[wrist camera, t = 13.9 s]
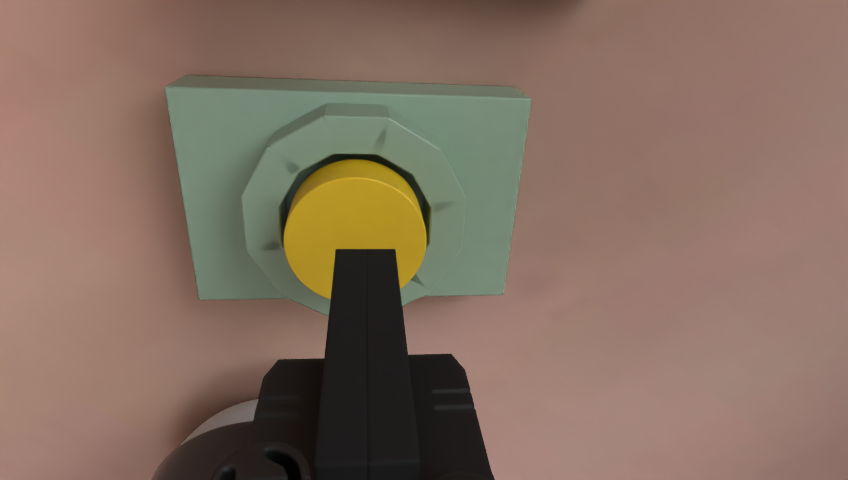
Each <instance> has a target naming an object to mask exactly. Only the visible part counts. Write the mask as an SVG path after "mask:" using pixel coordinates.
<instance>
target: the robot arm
mask: <svg viewBox="0 0 848 480" xmlns="http://www.w3.org/2000/svg"><path fill="white" fill-rule="evenodd" d="M210 480H495V479H494V477H493V474H492V472H491V469H490V465H489V461H488V457H487V453H486V449H485V445H484V442H483V438H482V434H481V430H480V426H479V422H478V418H477V414H476V411H475V410H474V403H473V399H472V395H471V393H470V387H469V383H468V380H467V376H466V372H465V370H464V368H463V367H462V366H461V365H460V364H459V363H458V361H457V360H456V359H455V358H454V357H453V356H452V354H425V355H408V352H407V343H406V335H405V326H404V318H403V309H402V301H401V292H400V284H399V275H398V267H397V258H396V250H395V249H336V251H335V261H334V271H333V280H332V290H331V300H330V310H329V320H328V330H327V339H326V349H325V358H324V359H283V360H278V361H277V362H276V363H275V364H274V366H273V367H272V368H271V369H270V370H269V371H268V373H267V374H266V375H265V376H264V378H263V382H262V386H261V390H260V394H259V398H258V402H257V406H256V410H255V414H254V419H253V422H252V426H251V430H250V434H249V438H248V442H247V446H245V447H243V448H241V449H239V450H237V451H235V452H233V453H231V454H230V455H229V456H228V457H227V458H226V459H225V460H224V461H222V462H221V463H220V464H219V465H218V466H217V467H216V469H215V471H214V472H213V474H212V476H211V478H210Z"/></svg>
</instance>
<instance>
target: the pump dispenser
mask: <svg viewBox="0 0 848 480" xmlns="http://www.w3.org/2000/svg"><path fill="white" fill-rule="evenodd" d="M257 402H258V399H255V400H250V401H246V402H242V403H239V404H237V405H234V406H231V407H229V408H227V409H225V410H223V411H221V412H219V413H217V414H216V415H214V416H212V417H211V418H209V419H208V420H207V421H205V422H204V423H202V424H201V425H200V426H199V427H198V428H197V429H195V430H194V431H193V432H192V433H191V434H190V435H189V436H188V437H187V438H186V439H185V441H184V442H183V443H182V444H181V445H180V446H179V447H178V448H176V449H175V450H174V451H173V452H172V453H171V454H169V455H168V456H167V457H166V458H165V460H164V461H163V462H162V463H161V464H160V466H159V467H158V468H157V470H156V472H155V473H154V475H153V477H152V479H151V480H210V478H211V476H212V474H213V472H214V471H215V469H216V467H217V466H218V465H219V464H220V463H221V462H222V461H224V460H225V459H226V458H227V457H228V456H229V455H230V454H231V453H233V452H235V451H237V450H239V449H241V448H243V447H245V446H247V442H248V438H249V434H250V430H251V426H252V422H253V419H254V414H255V410H256V406H257Z"/></svg>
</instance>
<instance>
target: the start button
mask: <svg viewBox="0 0 848 480" xmlns="http://www.w3.org/2000/svg"><path fill="white" fill-rule="evenodd" d="M426 244H427V235H426V229H425V224H424V221H423V217H422V213H421V210H420V206H419V203H418V200H417V197H416V195H415V193H414V191H413V190H412V188H411V187H410V185H409V184H408V183H407V182H406V181H405V179H404V178H402V177H401V176H400V175H399V174H398V173H396V172H395V171H393V170H392V169H390V168H388V167H386V166H384V165H382V164H379V163H376V162H373V161H368V160H361V159H348V160H341V161H337V162H334V163H330V164H328V165H326V166H323V167H321V168H320V169H318V170H316V171H315V172H313V173H312V174H311V175H310V176H309V177H307V179H306V180H305V181H304V182H303V183H302V184H301V186H300V187H299V188H298V190H297V192H296V194H295V196H294V198H293V201H292V204H291V207H290V211H289V214H288V218H287V221H286V225H285V229H284V251H285V255H286V258H287V261H288V263H289V265H290V267H291V269H292V271H293V272H294V274H295V275H296V276H297V278H298V279H299V280H300V281H301V282H302V283H303V284H304V285H305V286H306V287H307V288H309V289H310V290H312V291H313V292H315V293H317V294H318V295H320V296H322V297H325V298H327V299H330V300H331V290H332V280H333V271H334V261H335V251H336V249H395V250H396V258H397V267H398V275H399V284H400V289H401V288H403V287H404V286H405V285H406V284H407V283H408V282H409V281H410V280H411V279H412V278H413V276H414V275H415V274H416V272H417V271H418V269H419V268H420V266H421V263H422V261H423V259H424V255H425V252H426Z"/></svg>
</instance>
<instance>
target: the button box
mask: <svg viewBox="0 0 848 480" xmlns="http://www.w3.org/2000/svg"><path fill="white" fill-rule="evenodd" d="M165 93H166V100H167V106H168V112H169V118H170V124H171V130H172V137H173V143H174V149H175V155H176V161H177V167H178V173H179V180H180V186H181V192H182V198H183V204H184V210H185V216H186V223H187V229H188V235H189V241H190V247H191V253H192V259H193V266H194V272H195V278H196V284H197V290H198V296H199V300H235V299H291V300H293V301H295V302H297V303H300V304H302V305H304V306H306V307H309V308H311V309H313V310H315V311H318V312H320V313H322V314H324V315H327V316H329V310H330V299H327V298H325V297H322V296H320V295H318V294H317V293H315V292H313V291H312V290H310V289H309V288H307V287H306V286H305V285H304V284H303V283H302V282H301V281H300V280H299V279H298V278H297V276H296V275H295V274H294V272H293V271H292V269H291V267H290V265H289V263H288V261H287V258H286V255H285V251H284V229H285V225H286V221H287V218H288V214H289V211H290V207H291V204H292V201H293V198H294V196H295V194H296V192H297V190H298V188H299V187H300V186H301V184H302V183H303V182H304V181H305V180H306V179H307V177H309V176H310V175H311V174H312V173H313V172H315V171H316V170H318V169H320V168H321V167H323V166H326V165H328V164H330V163H334V162H337V161H341V160H348V159H361V160H368V161H373V162H376V163H379V164H382V165H384V166H386V167H388V168H390V169H392V170H393V171H395V172H396V173H398V174H399V175H400V176H401V177H402V178H404V179H405V181H406V182H407V183H408V184H409V185H410V187H411V188H412V190H413V191H414V193H415V195H416V197H417V200H418V203H419V206H420V210H421V213H422V217H423V221H424V224H425V229H426V235H427V244H426V252H425V255H424V259H423V261H422V263H421V266H420V268H419V269H418V271H417V272H416V274H415V275H414V276H413V278H412V279H411V280H410V281H409V282H408V283H407V284H406V285H405V286H404V287H403V288H401V289H400V292H401V301H402V306H404V305H406V304H408V303H410V302H412V301H414V300H416V299H418V298H420V297H422V296H475V295H503V294H504V288H505V281H506V274H507V267H508V260H509V253H510V246H511V239H512V232H513V225H514V218H515V211H516V204H517V197H518V190H519V183H520V176H521V169H522V162H523V155H524V148H525V141H526V134H527V127H528V119H529V112H530V105H531V98H530V97H528V96H527V95H525V94H524V93H522V92H521V91H520V90H518V89H517V88H515V87H512V86H483V85H454V84H425V83H396V82H367V81H338V80H309V79H280V78H252V77H223V76H194V75H185V76H183V77H181V78H180V79H178V80H176V81H174V82H173V83H171V84H169V85H167V86H166V87H165Z"/></svg>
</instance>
